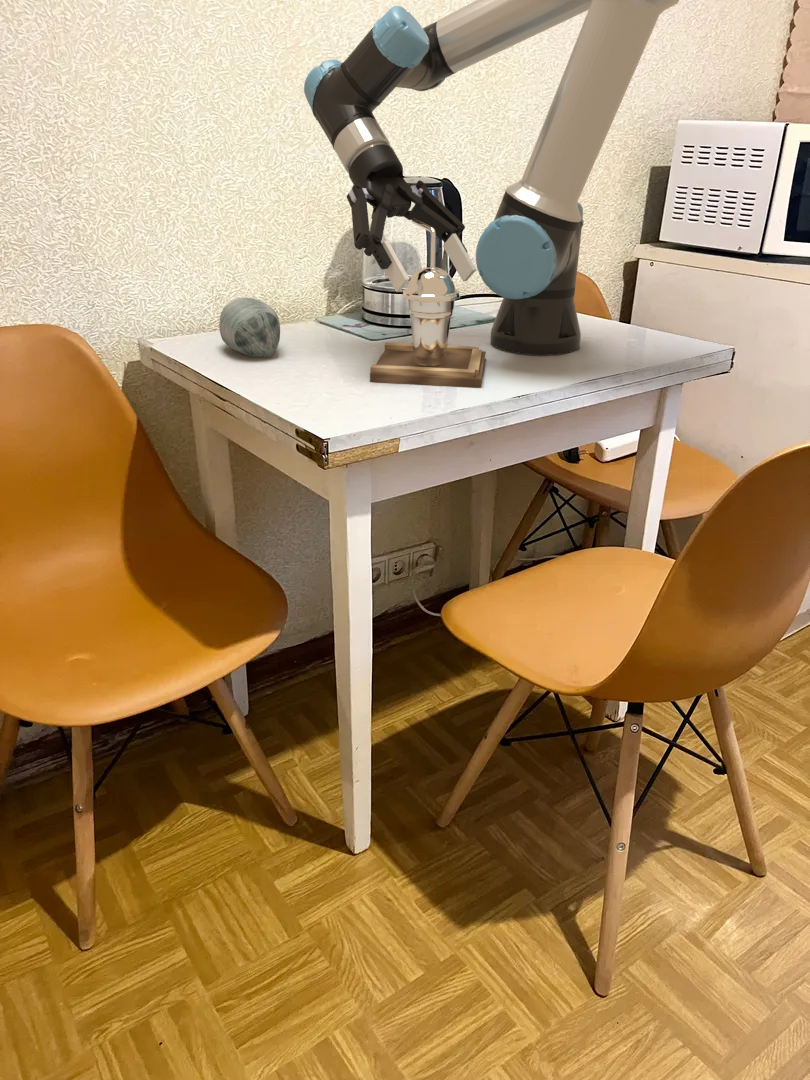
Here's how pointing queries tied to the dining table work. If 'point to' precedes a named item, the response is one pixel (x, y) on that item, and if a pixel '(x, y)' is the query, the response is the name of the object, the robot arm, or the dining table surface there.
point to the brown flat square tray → (429, 367)
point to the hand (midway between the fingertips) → (437, 280)
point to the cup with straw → (430, 308)
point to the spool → (250, 327)
